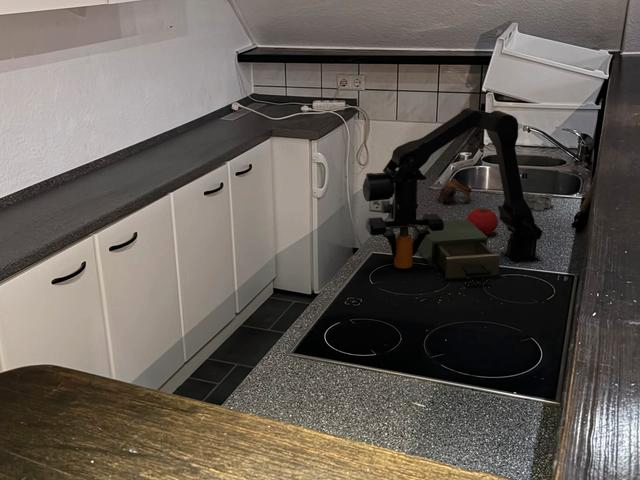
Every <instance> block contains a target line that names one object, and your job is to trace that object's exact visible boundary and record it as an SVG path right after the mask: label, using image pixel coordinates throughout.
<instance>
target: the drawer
mask: <svg viewBox="0 0 640 480" xmlns="http://www.w3.org/2000/svg"><path fill="white" fill-rule="evenodd" d="M435 261H436V262H437V263H438V265H439V266H438V267H440V268H441V269H442V271H443V272H444V278H445V279H446V280H447V279H460V278H461V279H462V278H474V277H487V276H499V273H500V263H501V262H500V261H501V254H500V253H499V252H498V253H495V252H494V251H493V250H492V249H491V248H489V247H488V245H487V246H486V245H485V244H484V243H483V242H482V241H468V242H453V243H439V244H435Z"/></svg>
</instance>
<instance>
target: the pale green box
mask: <svg viewBox="0 0 640 480" xmlns="http://www.w3.org/2000/svg"><path fill="white" fill-rule="evenodd" d="M443 222H444V230H442V231H431V230H430V229H429V228H428V230H429V231H430V234H429V235H426V236H425V238H424V239H423V241H422V242H421V244H420V246H419V248H418V250H417V252H419V253H420V255H421V256H422V257H423V258H424V259H425V261H426V262H427V263H428V265H429V266H430V267H431V268H435V267H440V266H439V265H438V263H437V262H436V261H435V244H439V243H453V242H468V241H482V242H483V243H484V244H485V245H486V246H487V247H488V236H487V235H484V234H483V233H482V232H481V231H480V230H479V229H478V228H477V227H476V226H474V225H473V224H472V223H471V222H470V221H469V220H467V219H457V220H443Z"/></svg>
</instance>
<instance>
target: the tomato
mask: <svg viewBox="0 0 640 480" xmlns="http://www.w3.org/2000/svg"><path fill="white" fill-rule="evenodd" d="M466 220H469V221H470V222H471V223H472V224H473V225H474V226H476V227H477V228H478V229H479V230H480V231H481V232H482V233H483V234H484V235H485V236H489V235H491V234H492V233H494V232H495V231H496V230H497V227H498V225H499V219H498V217H497V214H496V213H495V212H494V211H493V210H492V209H489V208H488V207H482V208H476V209H473V210H471V211H470V212H469V213H468V215H467V217H466Z"/></svg>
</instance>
